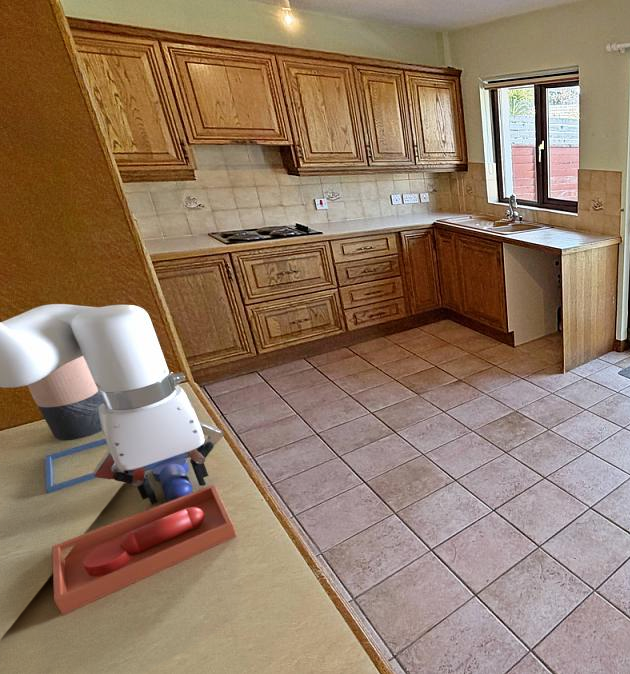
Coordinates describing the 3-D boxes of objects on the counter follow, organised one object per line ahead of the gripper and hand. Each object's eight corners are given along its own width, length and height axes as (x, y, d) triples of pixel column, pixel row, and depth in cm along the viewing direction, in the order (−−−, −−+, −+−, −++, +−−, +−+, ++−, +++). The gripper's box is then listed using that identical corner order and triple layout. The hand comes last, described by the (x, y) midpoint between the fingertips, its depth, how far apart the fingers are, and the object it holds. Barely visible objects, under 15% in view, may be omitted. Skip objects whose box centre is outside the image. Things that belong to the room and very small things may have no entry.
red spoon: (203, 513, 71) (197, 496, 70) (210, 529, 68) (203, 512, 67) (86, 561, 62) (76, 544, 61) (88, 582, 60) (78, 564, 58)
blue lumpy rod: (201, 497, 74) (195, 481, 73) (165, 512, 71) (158, 495, 70) (186, 461, 82) (180, 446, 81) (152, 473, 79) (146, 457, 78)
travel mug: (115, 420, 92) (74, 325, 84) (117, 437, 87) (73, 338, 79) (58, 435, 87) (8, 335, 79) (56, 454, 82) (3, 350, 74)
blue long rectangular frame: (195, 454, 84) (190, 442, 83) (52, 502, 72) (45, 489, 71) (183, 427, 91) (179, 416, 90) (51, 468, 79) (44, 455, 78)
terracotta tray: (236, 536, 68) (232, 523, 67) (62, 615, 56) (53, 600, 55) (218, 496, 75) (214, 484, 74) (59, 560, 63) (52, 546, 62)
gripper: (207, 364, 76) (236, 456, 83) (50, 401, 64) (100, 505, 71) (218, 380, 71) (248, 476, 78) (51, 424, 60) (104, 532, 67)
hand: (177, 489), depth 75 cm, fingers open, 5 cm apart
